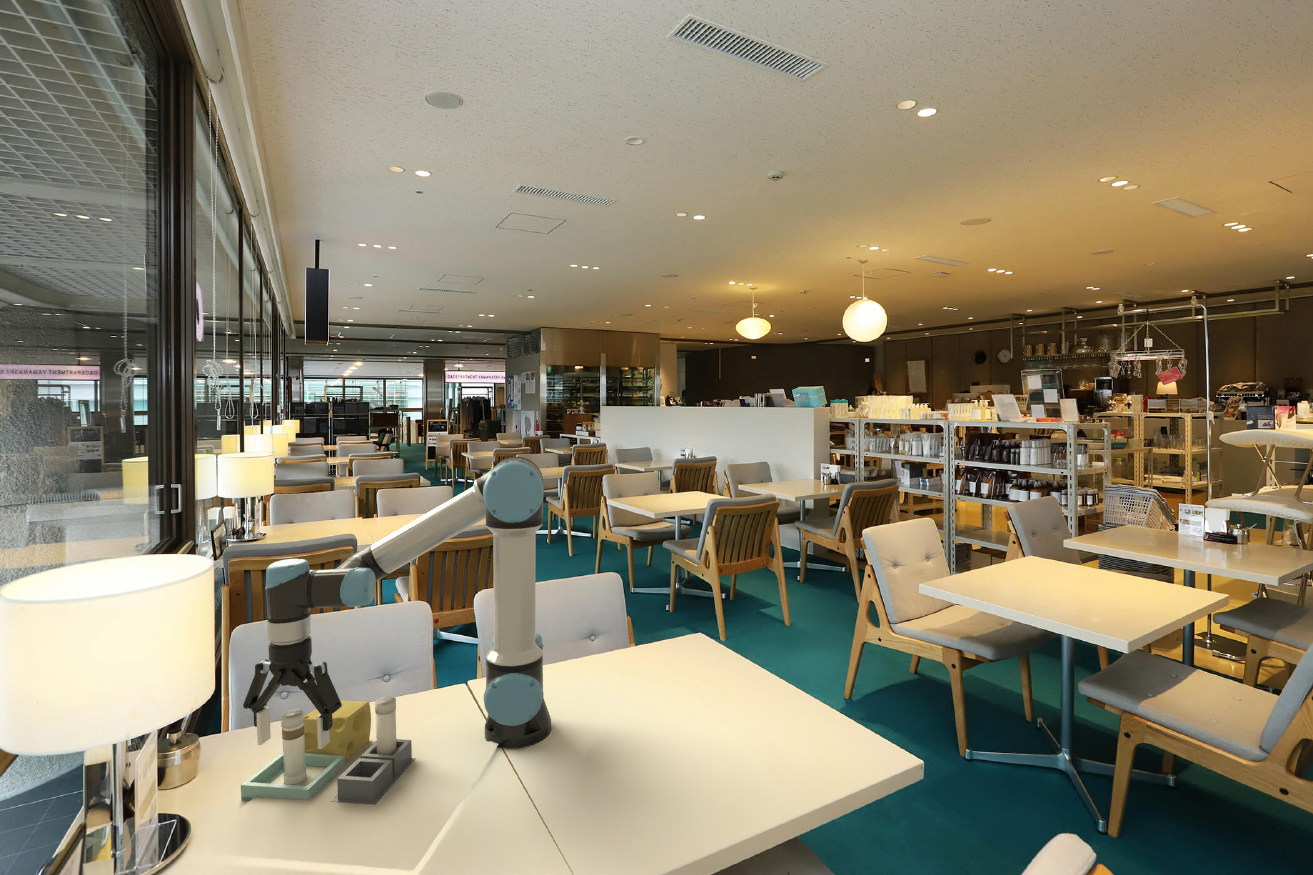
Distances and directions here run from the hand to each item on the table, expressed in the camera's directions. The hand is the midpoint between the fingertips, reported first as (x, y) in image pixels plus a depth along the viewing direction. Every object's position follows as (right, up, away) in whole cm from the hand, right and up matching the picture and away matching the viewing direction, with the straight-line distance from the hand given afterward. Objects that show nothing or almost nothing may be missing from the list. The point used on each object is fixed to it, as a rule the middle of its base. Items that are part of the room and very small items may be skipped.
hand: (293, 743), depth 131 cm
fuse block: (+16, -8, +1) cm, 18 cm away
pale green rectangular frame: (0, -8, 0) cm, 8 cm away
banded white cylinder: (0, -8, 0) cm, 8 cm away
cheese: (+2, -8, +12) cm, 15 cm away
